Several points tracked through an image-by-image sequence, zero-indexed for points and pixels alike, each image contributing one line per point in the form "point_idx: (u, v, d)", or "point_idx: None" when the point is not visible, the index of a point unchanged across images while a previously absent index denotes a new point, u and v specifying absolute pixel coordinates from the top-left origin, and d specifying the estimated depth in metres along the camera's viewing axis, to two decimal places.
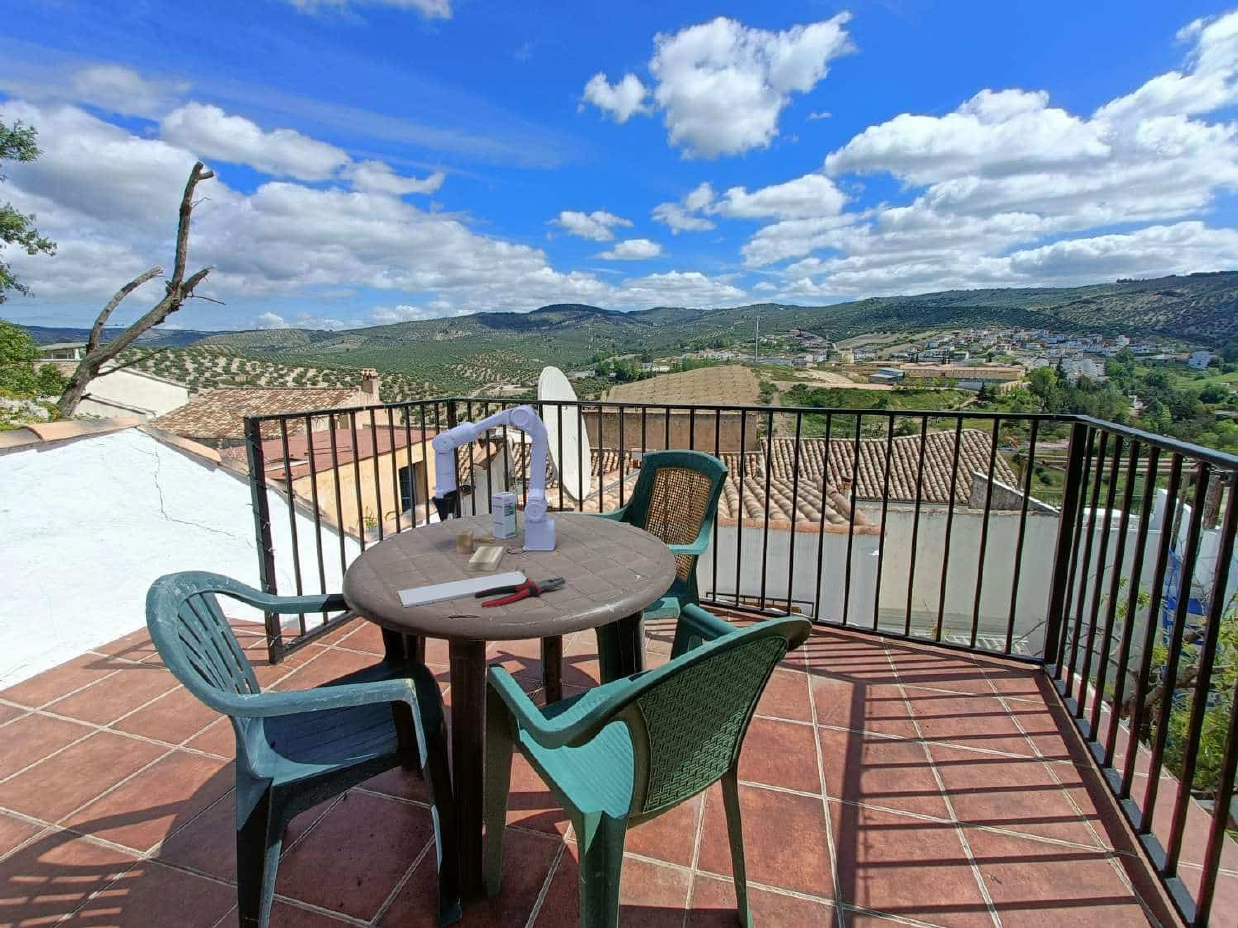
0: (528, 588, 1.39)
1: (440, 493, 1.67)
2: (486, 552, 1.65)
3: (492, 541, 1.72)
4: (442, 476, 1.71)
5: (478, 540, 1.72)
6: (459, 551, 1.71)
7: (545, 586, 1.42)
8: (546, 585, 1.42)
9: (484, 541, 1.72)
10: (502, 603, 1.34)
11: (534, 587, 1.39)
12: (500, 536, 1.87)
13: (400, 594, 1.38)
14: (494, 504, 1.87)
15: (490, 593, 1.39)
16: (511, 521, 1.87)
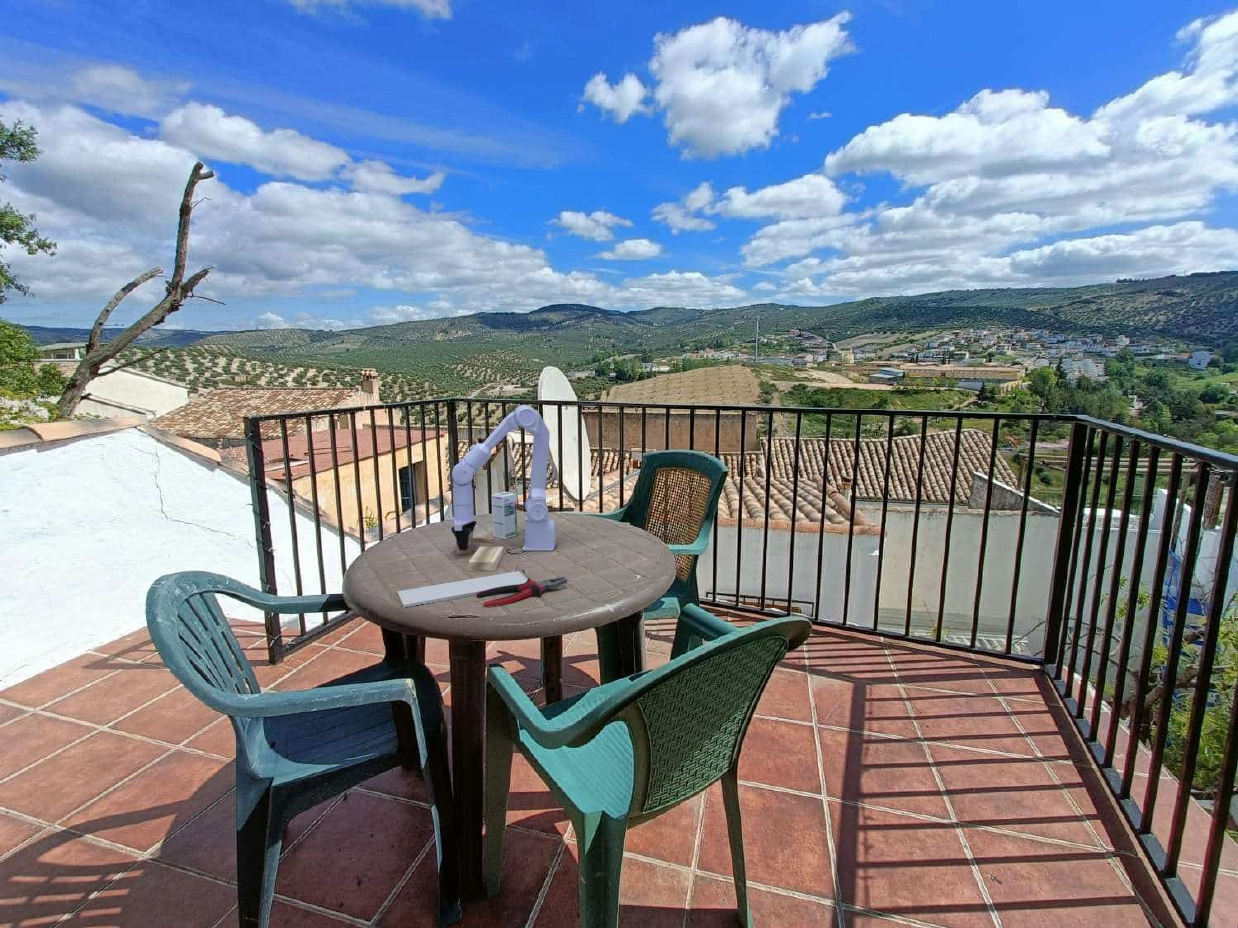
0: (530, 588, 1.39)
1: (459, 525, 1.64)
2: (486, 552, 1.65)
3: (492, 541, 1.72)
4: (461, 507, 1.68)
5: (478, 540, 1.72)
6: (459, 551, 1.71)
7: (547, 586, 1.42)
8: (548, 585, 1.42)
9: (484, 541, 1.72)
10: (504, 603, 1.34)
11: (536, 587, 1.39)
12: (500, 536, 1.87)
13: (400, 594, 1.38)
14: (494, 504, 1.87)
15: (492, 593, 1.40)
16: (511, 521, 1.87)
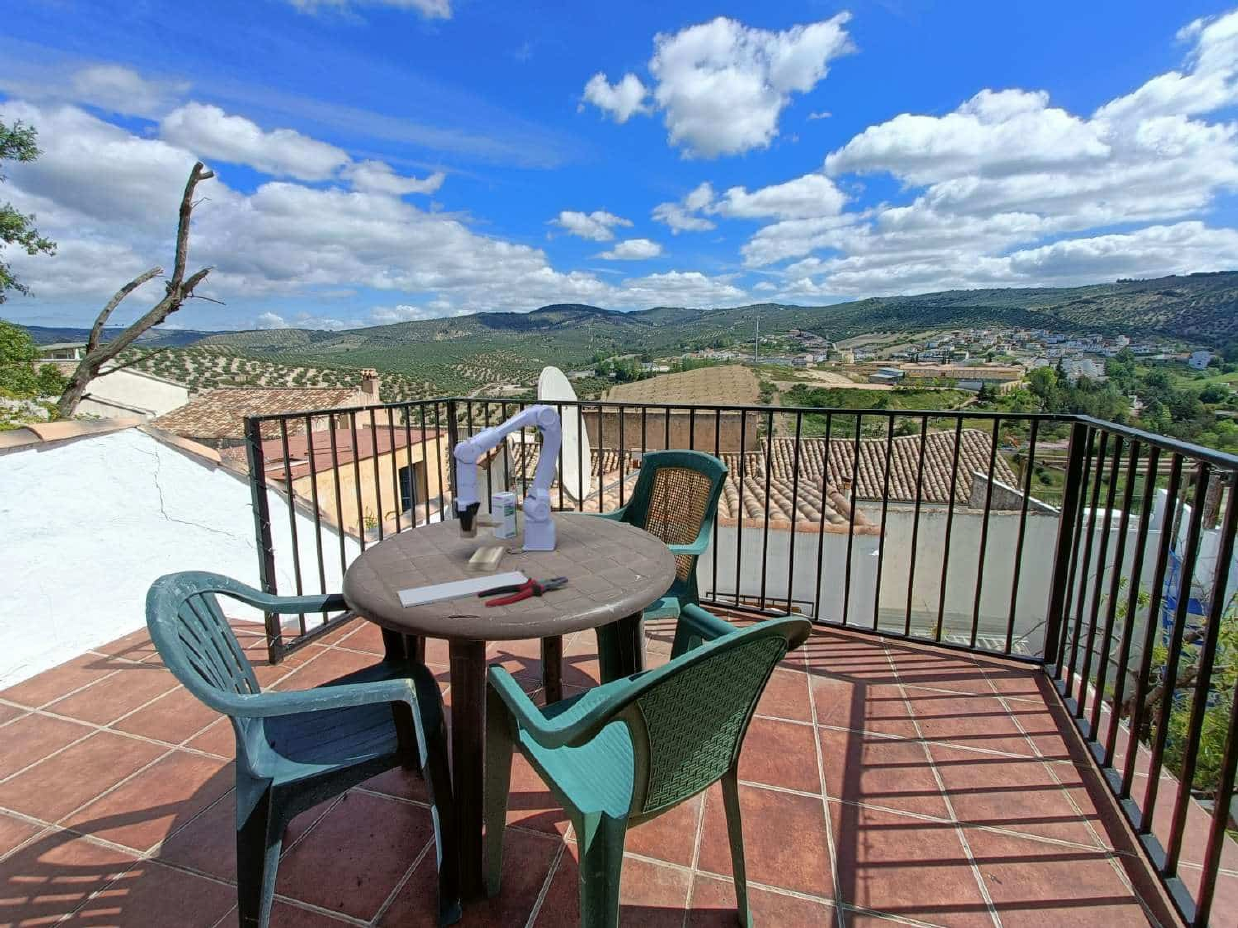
0: (531, 587, 1.40)
1: (463, 505, 1.59)
2: (486, 552, 1.65)
3: (497, 525, 1.66)
4: (465, 487, 1.62)
5: (482, 524, 1.66)
6: (463, 534, 1.65)
7: (548, 585, 1.42)
8: (549, 584, 1.42)
9: (488, 525, 1.66)
10: (506, 602, 1.34)
11: (537, 586, 1.39)
12: (500, 536, 1.87)
13: (399, 594, 1.38)
14: (494, 504, 1.87)
15: (493, 592, 1.40)
16: (511, 521, 1.87)
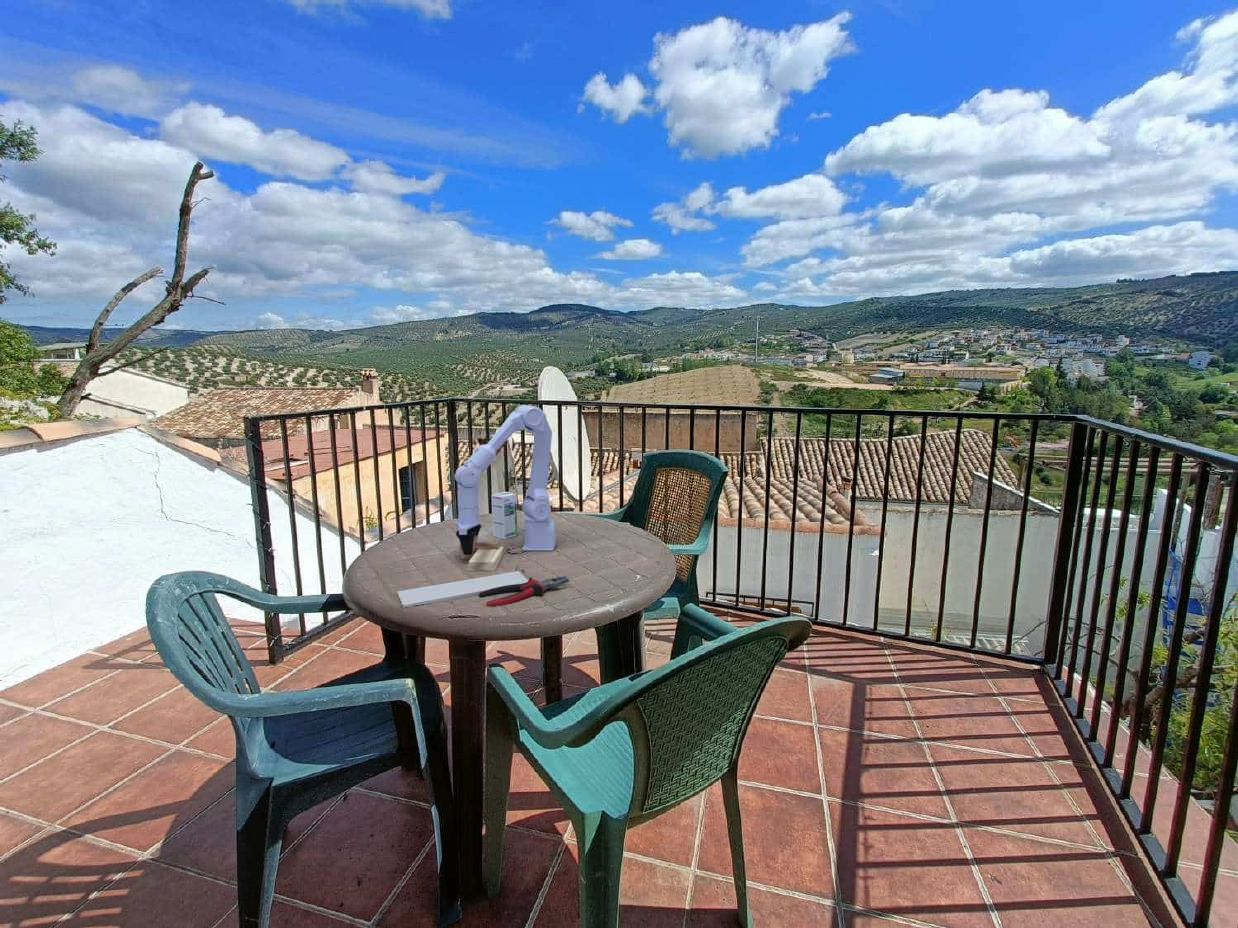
0: (532, 587, 1.40)
1: (464, 529, 1.60)
2: (486, 552, 1.65)
3: (497, 545, 1.67)
4: (466, 511, 1.63)
5: (482, 544, 1.67)
6: (463, 556, 1.66)
7: (549, 585, 1.42)
8: (550, 584, 1.42)
9: (488, 545, 1.67)
10: (507, 602, 1.34)
11: (538, 586, 1.39)
12: (500, 536, 1.87)
13: (399, 594, 1.38)
14: (494, 504, 1.87)
15: (494, 592, 1.40)
16: (511, 521, 1.87)
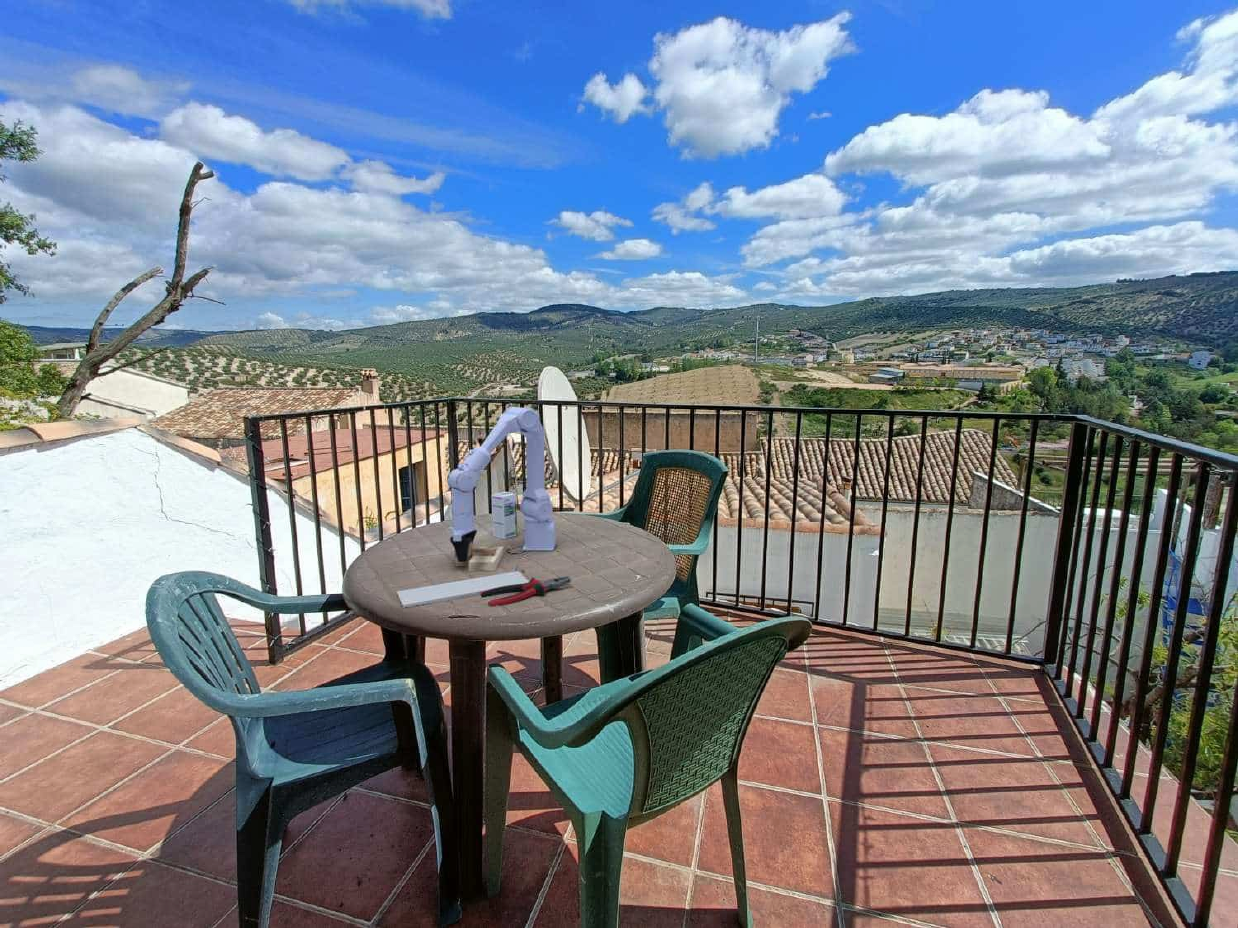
0: (534, 587, 1.40)
1: (458, 536, 1.54)
2: None
3: (493, 551, 1.62)
4: (460, 516, 1.57)
5: (478, 551, 1.61)
6: (458, 562, 1.60)
7: (551, 585, 1.42)
8: (552, 584, 1.42)
9: (484, 552, 1.62)
10: (508, 602, 1.35)
11: (540, 586, 1.39)
12: (500, 536, 1.87)
13: (399, 594, 1.38)
14: (494, 504, 1.87)
15: (496, 592, 1.40)
16: (511, 521, 1.87)
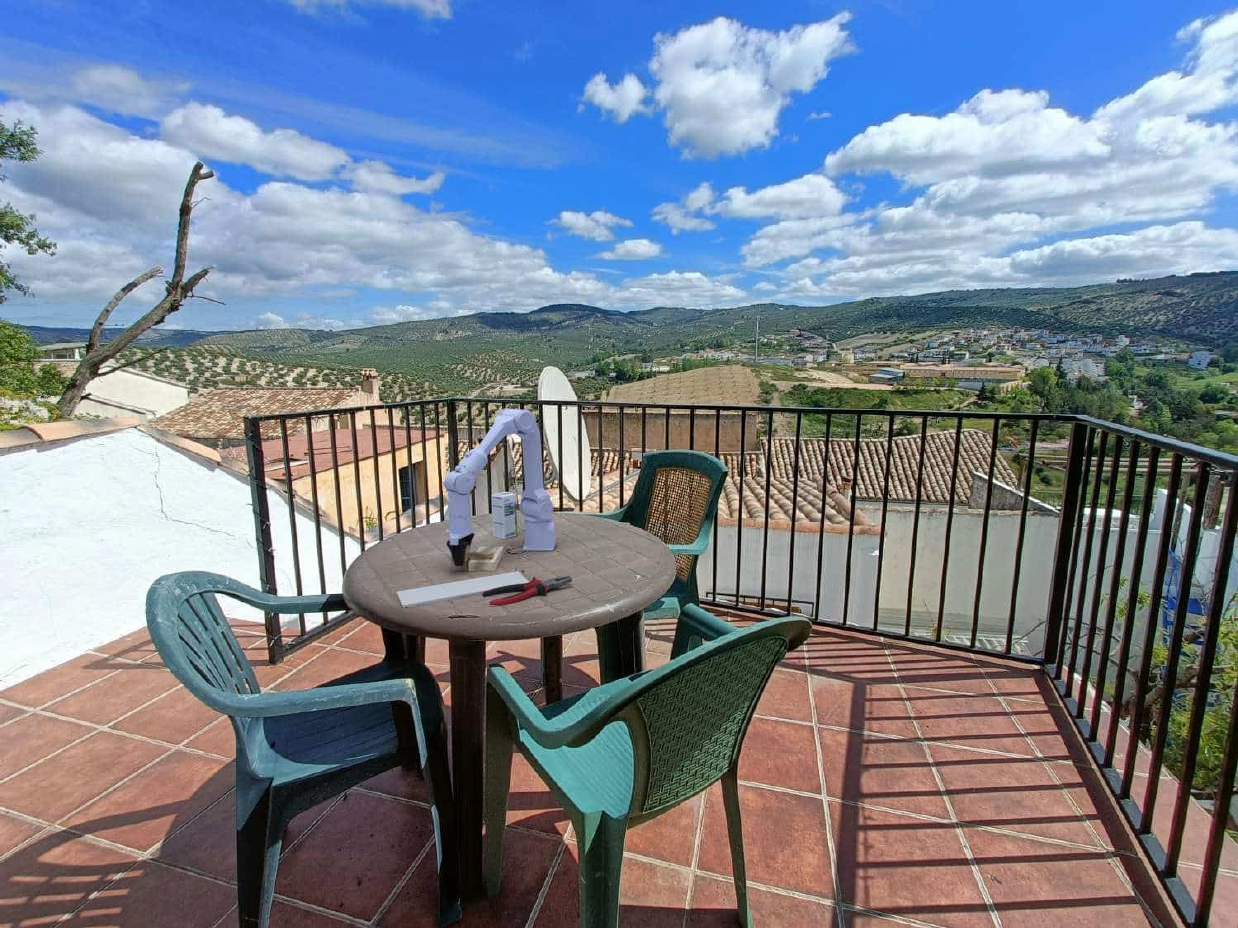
0: (535, 586, 1.40)
1: (455, 539, 1.50)
2: None
3: (490, 556, 1.58)
4: (457, 519, 1.54)
5: (475, 555, 1.58)
6: (455, 567, 1.57)
7: (552, 584, 1.43)
8: (553, 583, 1.43)
9: (482, 556, 1.58)
10: (510, 601, 1.35)
11: (541, 585, 1.40)
12: (500, 536, 1.87)
13: (399, 595, 1.38)
14: (494, 504, 1.87)
15: (498, 592, 1.40)
16: (511, 521, 1.87)
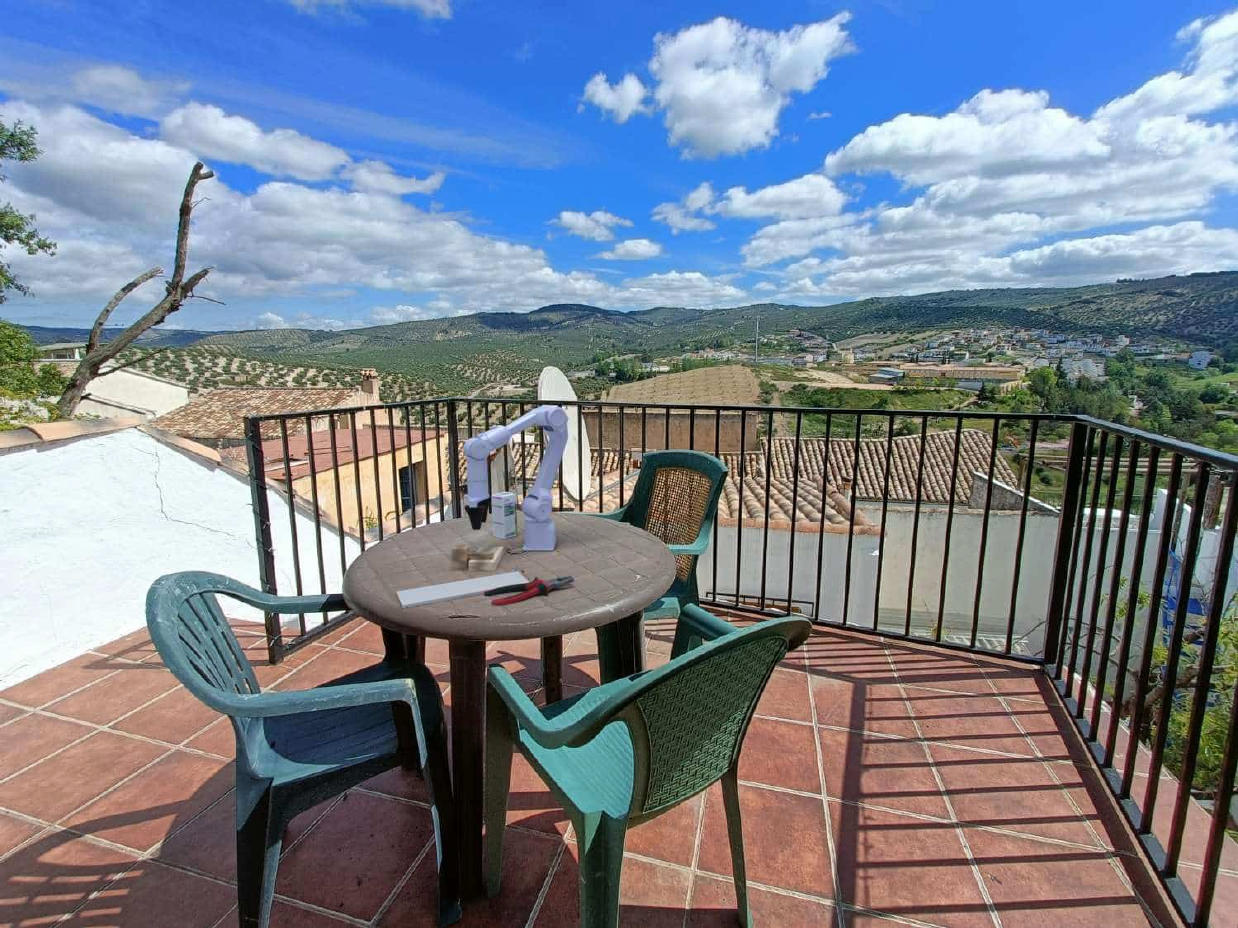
0: (537, 586, 1.40)
1: (474, 502, 1.58)
2: None
3: (490, 556, 1.58)
4: (475, 484, 1.61)
5: (475, 555, 1.58)
6: (455, 567, 1.57)
7: (554, 584, 1.43)
8: (555, 583, 1.43)
9: (482, 556, 1.58)
10: (512, 601, 1.35)
11: (543, 585, 1.40)
12: (500, 536, 1.87)
13: (399, 594, 1.37)
14: (494, 504, 1.87)
15: (500, 591, 1.40)
16: (511, 521, 1.87)
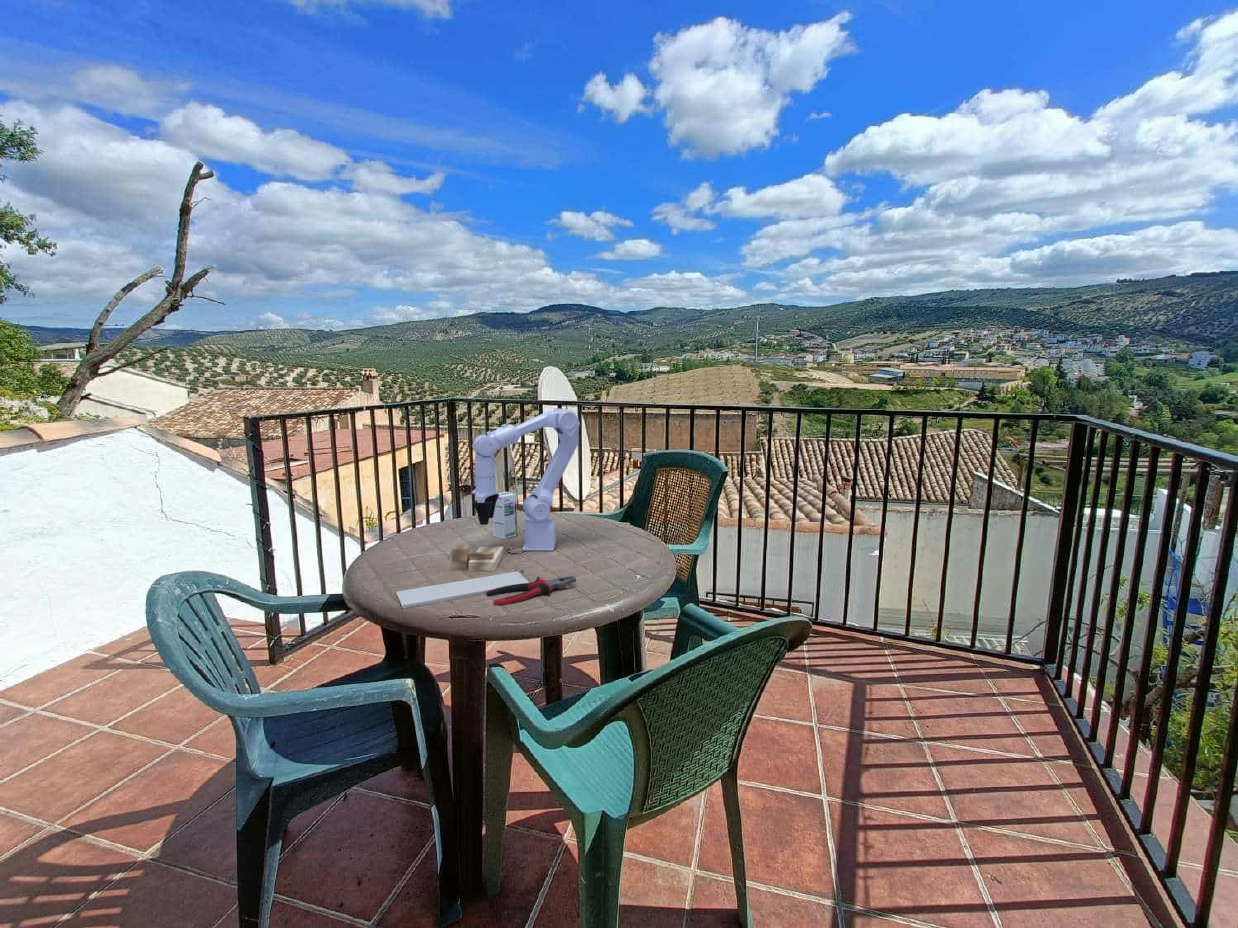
0: (539, 586, 1.40)
1: (482, 497, 1.62)
2: None
3: (491, 556, 1.58)
4: (483, 480, 1.65)
5: (475, 555, 1.58)
6: (455, 567, 1.57)
7: (556, 584, 1.43)
8: (557, 583, 1.43)
9: (482, 556, 1.58)
10: (514, 601, 1.35)
11: (545, 585, 1.40)
12: (500, 536, 1.87)
13: (398, 595, 1.37)
14: None
15: (502, 591, 1.41)
16: (511, 521, 1.87)
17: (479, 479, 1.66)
